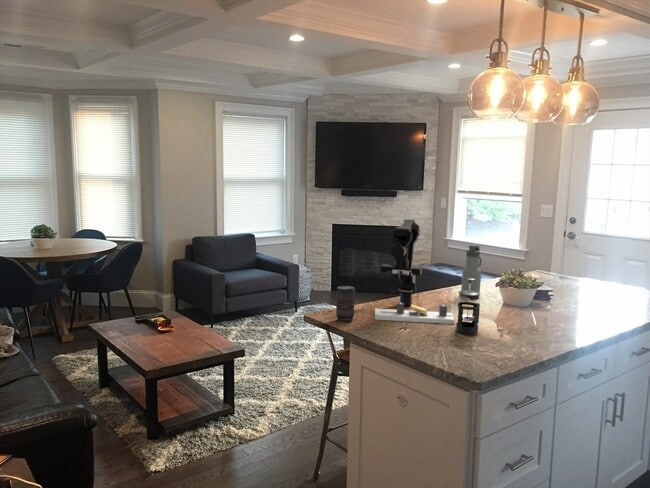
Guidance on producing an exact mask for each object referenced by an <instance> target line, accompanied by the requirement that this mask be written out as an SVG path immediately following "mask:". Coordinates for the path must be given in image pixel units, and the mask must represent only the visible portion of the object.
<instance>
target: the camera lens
mask: <svg viewBox="0 0 650 488" xmlns="http://www.w3.org/2000/svg"><path fill="white" fill-rule="evenodd" d="M355 300H356V288H355V287H354V286H349V285H340V286H339V285H338V287H337V288H336V309H335V314H336V316H335V317H336V319H337V320H336V321H337V322H339V323H342V324H343V323H345V324H349V323H353V321H354V320H353V319H354V316H355Z"/></svg>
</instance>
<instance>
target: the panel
mask: <svg viewBox="0 0 650 488" xmlns="http://www.w3.org/2000/svg"><path fill="white" fill-rule="evenodd" d="M426 311H427V310H426ZM374 320H377V321H378V320H380V321H394V322H395V321H397V322H413V323H426V324H427V323H429V324H431V323H432V324H443V325H445V324H448V325H455V318H454V316H453V313H452V312H447V316H446V315H440V314H439V311H427V312H426V315H424V314H422V313H420V310H417V312H416V311H413V310H411V309H410V310H407V309H404V313H397V309H393V308H392V309H390V308H389V309H388V308H374Z"/></svg>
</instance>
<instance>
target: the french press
mask: <svg viewBox="0 0 650 488" xmlns="http://www.w3.org/2000/svg"><path fill="white" fill-rule="evenodd" d="M465 279H466V280H469V283H471V280H476V279H474V278H465ZM479 295H480V296H481V292H480V293H479V292H475V291H470V285H469V291H461V290H459V291H458V297H463V296H466V297H467V298H466V299H468V301H459V302H457V306H456V307H457V308H458V309H457V310H458V311H457V322H456V323H455V329H454V330H455V331H454V332H455V333H456V334H459V335H463V336H477V335H478V334H479V322H480V321H479V320H480V309H481V308H480V307H481V303H480V302H472V301H477V300H480V296H479ZM470 300H471V301H470ZM464 310H467V314H464ZM469 311H472V315H471V314H469Z"/></svg>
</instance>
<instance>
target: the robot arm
mask: <svg viewBox="0 0 650 488" xmlns="http://www.w3.org/2000/svg"><path fill="white" fill-rule="evenodd" d="M420 229H421V228H420V225H418V224H417V223H416V221H415V220H413V219H404V220H403V223H402V225H401V226H397V227H395V229H393V235H392V241H391V244H395V245H394V246H393V247H392V249H391V256H392V257H393V258H394V259H393V264H394V266H391V264H387V263H386V264H381V266H380V267H379V272H380V273H388V272H389V271H390V272H391V275H392V276H394V279H395V281H396V293H397V294H398V293H400V294H399V301H398V303H400V302H401V303H404V307H410V306H411V304H413V303H412V298H413V297H412V296H413V295H415V294H417V284H416V282H415V278H414V276H421V275H422V273H423V268H422V267H421V266H419V267H418V266H413V259H414V253H415V251H414V249H415V245H416V243H417V242H418V240H419V237H420V235H421V230H420Z"/></svg>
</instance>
